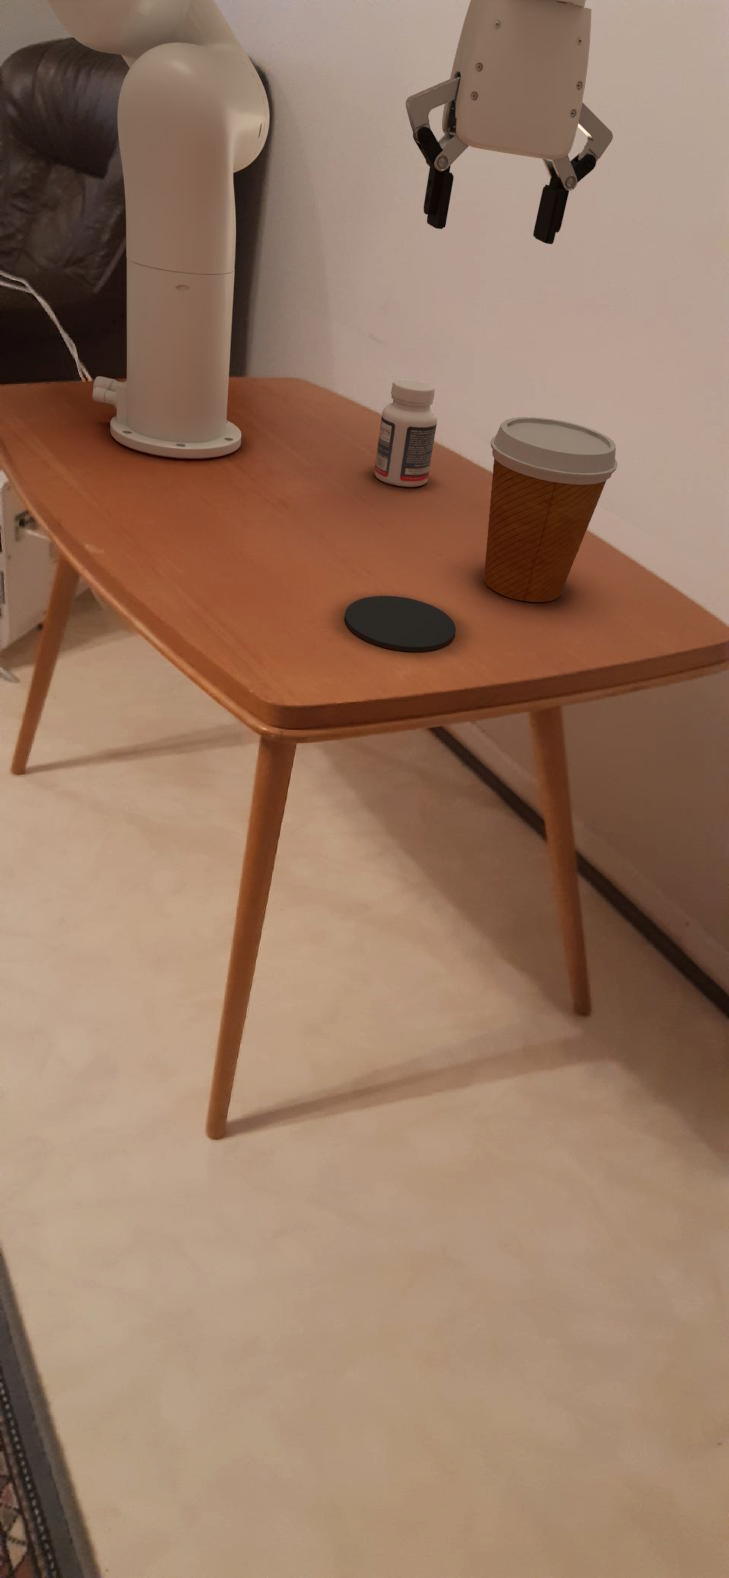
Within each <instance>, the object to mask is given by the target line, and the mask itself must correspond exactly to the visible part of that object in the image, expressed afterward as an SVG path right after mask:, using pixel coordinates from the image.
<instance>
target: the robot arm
mask: <svg viewBox="0 0 729 1578" xmlns="http://www.w3.org/2000/svg"><path fill="white" fill-rule="evenodd" d="M46 2H47V3H48V4H49V6H50V8H51V9H52V12H54V14H55V16H56V17H57V19H58V20H59V22H60V23H61V25H62V26H63V28H64V29H65V30H66V31H67V32H68V34H69V35H71V37H72V38H74V39H75V40H76V41H77V42H78V43H79V44H81V45H83V46H84V47H87V48H89V49H91V50H94V51H96V52H99V53H106V54H113V55H119V56H121V57H122V58H123V61H125V63H126V65H127V66H128V68H129V70H128V71H127V73H126V74H125V77H124V79H123V82H122V85H121V88H120V91H119V97H118V102H117V117H116V119H117V134H118V144H119V153H120V160H121V168H122V177H123V186H124V199H125V235H126V237H125V239H126V240H125V241H126V242H125V244H126V245H125V248H126V249H125V250H126V256H125V257H126V380H125V381H123V382H121V381H117V380H116V379H114V378H109V377H106V376H101V375H99V376H96V377H95V378H94V381H93V386H92V389H93V390H92V396H91V397H92V400H93V401H94V402H97V403H101V404H105V405H112V406H113V408H115V409H116V414H115V415H114V416H113V417H112V418H111V420H110V421H109V422H110V425H109V426H110V427H109V428H110V432H109V433H110V435H111V437H113V439H114V440H115V441H116V442H118V443H119V444H121V445H122V446H125V447H127V448H130V449H132V450H135V451H138V452H141V453H145V454H148V455H152V456H153V455H154V456H157V457H159V456H160V457H165V458H174V459H195V460H196V459H198V460H199V459H211V458H217V457H218V458H219V457H223V456H226V455H230V454H232V453H234V452H235V451H237V450H238V449H239V448H241V445H242V431H241V430H240V428H239V427H238V426H237V425H235V423H233V422H231V421H229V420H228V419H227V418H228V417H227V415H228V399H229V398H228V397H229V382H230V381H229V380H230V365H231V364H230V363H231V362H230V361H231V343H232V325H233V308H234V306H233V305H234V292H235V291H234V290H235V289H234V287H235V271H236V269H235V266H236V265H235V264H236V243H237V222H236V221H237V217H236V201H235V200H236V198H235V188H234V186H235V185H234V174H235V173H237V172H239V171H241V170H243V169H245V168H247V167H248V166H249V165H251V164H252V163H253V162H254V161H255V160H256V159H257V157H258V156H259V155H260V153H261V152H262V150H263V148H264V147H265V143H266V140H267V137H268V134H269V129H270V106H269V105H270V104H269V100H268V95H267V93H266V89H265V86H264V84H263V82H262V80H261V77H260V75H259V73H258V72H257V69H256V68H255V66H254V64H253V62H252V61H251V59H250V58H249V56H248V54H247V52H246V51H245V49H244V47H243V46H242V44H241V43H240V41H239V39H238V38H237V36H236V34H235V32H234V31H233V29H232V27H231V26H230V25H229V22H228V21H227V18H225V16H224V14H223V13H222V11H221V9H220V7H219V6H218V4H217V3H216V1H215V0H46ZM586 2H587V0H470V1H469V5H468V7H467V11H466V14H465V17H464V21H463V24H462V27H461V31H460V32H461V33H460V36H459V39H458V43H457V48H456V52H455V55H454V59H453V64H452V68H451V71H450V77H449V78H448V79H447V80H444V81H442V82H439V83H438V84H435V85H433V86H431V87H428V88H426V89H423V90H421V91H419V92H417V93H414V94H412V95H410V96H408V97H407V98H406V99H405V109H406V114H407V116H408V117H407V118H408V120H409V124H410V127H411V131H412V138H413V142H415V144H416V146H417V148H418V149H419V151H420V153H421V154H422V157H423V158H424V159H425V163H426V165H427V166H428V167H429V170H428V176H427V183H426V188H425V195H424V201H423V214H425V215H427V216H426V223H427V225H429V226H430V227H433V228H434V229H437V230H443V229H445V228H446V225H447V220H448V213H449V207H450V203H451V202H450V201H451V197H452V190H453V185H454V179H455V177H454V174H453V172H451V167H452V166H451V165H452V164H453V163H455V162H456V160H457V159H458V158H459V157H460V156H461V155H462V154H463V153H464V152H465V151H466V150H467V149H468V147H471V148H475V149H479V150H485V151H490V152H497V153H503V154H507V155H508V154H510V155H515V156H522V157H526V158H527V157H528V158H533V159H541V160H542V162H543V164H544V167H545V170H546V171H547V174H548V177H549V184H545V185H544V186H543V188H542V191H541V196H540V200H539V204H538V209H537V214H536V217H535V218H536V219H535V222H534V228H533V232H532V235H533V237H534V238H535V239H536V240H538V241H540V242H541V243H544V244H547V245H553V244H554V242H555V238H556V233H557V234H558V233H559V232H560V231H561V228H562V224H563V221H564V217H565V212H566V207H567V203H568V200H569V199H568V198H569V194H570V192H571V191H574V190H575V189H576V187H577V186H578V183H580V181H582V180H583V179H584V178H585V177H586V176H587V175H588V174H590V173H591V172H592V171H594V169H595V168H596V165H597V162H598V160H600V159H601V158H602V156H603V154H604V153H605V151H606V150H607V149H608V147H609V146H610V144H611V143H612V141H613V139H614V135H613V132H612V131H611V130H610V129H609V127H607V126H606V124H605V123H604V122H602V121H601V120H600V119H599V117H597V115H596V114H595V113H593V111H591V109H590V108H589V107H588V106H587V105H586V104H585V103H584V96H585V95H584V94H585V88H586V81H587V75H588V66H589V58H590V57H589V56H590V48H591V34H592V33H591V30H592V9H591V8H589V7H586ZM442 105H444V106H443V112H442V119H441V129H442V132H443V133H444V135H443V136H442V137H441V138H440V139H437V137H436V136H435V134H434V132H433V131H432V129H431V128H432V127H431V125H430V124H431V123H430V118H429V115H430V112H431V111H432V110H433V109H436V108H438V107H440V106H442ZM578 129H579V130H580V131H581V132H582V133H583V134H585V136H586V143H585V145H584V146H583V149H582V151H581V152H579V153H578V154H577V155H575V156H574V157H573V158H572V159H570V157H569V154H570V153H571V151H572V148H573V146H574V143H575V139H576V137H577V131H578Z"/></svg>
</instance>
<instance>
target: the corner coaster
mask: <svg viewBox="0 0 729 1578" xmlns="http://www.w3.org/2000/svg"><path fill="white" fill-rule="evenodd" d="M344 623H345V625H346V627H347V628H348V630H349V631H350V632H351V633H353V634H354V635H355V636H357V638H360V639H361V640H363V641H365V642H367V643H370V644H372V645H374V646H377V647H381V648H384V649H388V650H393V651H400V652H408V653H409V652H411V653H415V652H416V653H420V652H422V653H423V652H431V651H436V650H439V649H442V648H444V647H446V646H448V645H449V644H450V643H452V641H453V640H454V638H455V636H456V632H457V631H456V629H457V628H456V623H455V622H454V620H453V618H451V617H450V615H448V614H447V613H446V612H445V611H443V610H442V609H440V608H438V607H436V606H435V605H432V604H429V603H427V602H424V601H421V600H417V599H413V598H409V597H404V596H396V595H373V596H367V597H362V598H359V599H357V600H355V601H353V602H351V603H350V604H349V605H347V607H346V609H345V612H344Z"/></svg>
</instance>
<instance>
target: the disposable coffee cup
mask: <svg viewBox="0 0 729 1578" xmlns="http://www.w3.org/2000/svg"><path fill="white" fill-rule="evenodd" d="M490 447H491V449H492V450H491V454H492V457H493V465H492V481H491V490H490V498H489V499H490V500H489V501H490V502H489V514H488V524H487V525H488V526H487V527H488V528H487V538H486V548H485V549H486V552H485V562H484V574H483V575H484V576H483V582H484V583H485V585H486V586H487V587H488V588H490V589H491V590H493V591H494V592H496V593H498V594H499V595H502V596H504V597H507V598H510V599H514V600H516V601H524V602H528V603H529V602H530V603H545V602H552V601H555V600H556V599H558V598H559V597H560V596H561V595H562V592H563V589H564V587H565V585H566V581H567V579H568V578H569V574H570V572H571V570H572V567H573V565H574V562H575V559H576V557H577V555H578V552H579V550H580V547H581V545H582V542H583V540H584V538H585V535H586V532H587V531H588V527H589V525H590V523H591V520H592V517H593V515H594V514H595V510H596V508H597V505H598V503H599V500H600V498H601V495H602V493H603V490H604V488H605V485H606V483H607V481H608V480H609V479H611V477H612V475H613V473H614V472H615V471H617V468H618V465H619V463H618V461H617V459H616V452H617V451H616V450H617V449H616V448H617V446H616V443H615V442H614V440H613V439H611V438H610V437H609V436H607V435H605V434H603V433H602V432H600V431H598V430H595V429H592V428H589V427H586V426H583V425H581V424H578V423H572V422H569V421H565V420H560V419H554V418H545V417H536V416H519V417H512V418H507V419H505V420H504V421H502V422H501V423H500V425H499V427H498V430H497V432H496V434H495V435H494V436H492V437H491V439H490Z"/></svg>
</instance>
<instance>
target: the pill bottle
mask: <svg viewBox="0 0 729 1578" xmlns="http://www.w3.org/2000/svg"><path fill="white" fill-rule="evenodd" d="M435 391H436V386H434V385H433V384H431V383H429V382H426V381H423V380H418V379H412V378H398V379H394V380H393V381H392V385H391V391H390V395H391V399H392V402H390V403H388V404H387V405H386V406H384V407H383V410H382V413H381V419H380V427H379V432H378V433H379V435H378V441H377V449H376V454H375V455H376V457H375V463H374V464H375V465H374V475H375V477H376V479H378V480H379V481H381V482H383V483H385V484H388V485H392V486H396V487H401V488H417V487H421V486H424V485H425V484H426V483H427V482H428V480H429V475H430V469H431V462H432V457H433V449H434V443H435V438H436V437H435V436H436V432H437V431H436V430H437V425H438V416H437V414H436V412H435V411H434V409H432V408H431V405H433V404H434V401H435V394H436V393H435Z"/></svg>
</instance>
